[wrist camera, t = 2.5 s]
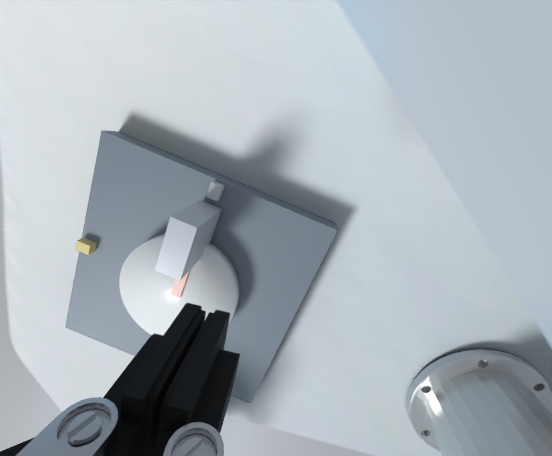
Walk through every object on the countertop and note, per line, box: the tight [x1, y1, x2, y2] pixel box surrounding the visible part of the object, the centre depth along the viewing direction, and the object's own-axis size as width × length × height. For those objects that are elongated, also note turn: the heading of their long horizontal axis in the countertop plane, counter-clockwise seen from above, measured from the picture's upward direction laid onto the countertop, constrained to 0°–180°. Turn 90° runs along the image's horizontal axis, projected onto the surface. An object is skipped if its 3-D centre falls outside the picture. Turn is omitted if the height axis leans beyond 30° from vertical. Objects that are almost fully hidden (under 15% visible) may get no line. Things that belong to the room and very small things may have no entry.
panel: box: [65, 131, 338, 403], centre depth 26 cm, size 20×20×3 cm
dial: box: [119, 200, 239, 335], centre depth 22 cm, size 13×10×5 cm
